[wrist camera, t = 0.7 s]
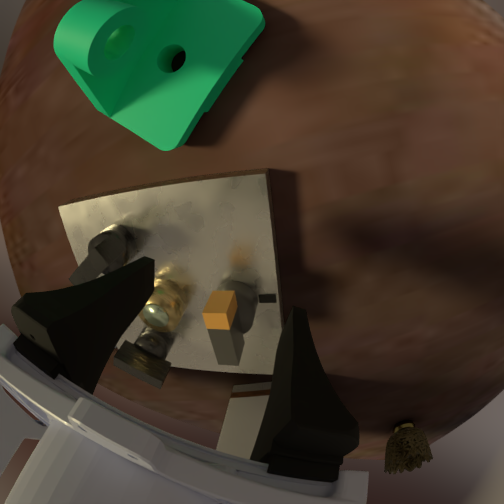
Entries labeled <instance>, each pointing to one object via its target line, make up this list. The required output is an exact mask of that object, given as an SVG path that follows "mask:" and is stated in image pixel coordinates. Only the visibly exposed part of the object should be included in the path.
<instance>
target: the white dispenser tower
mask: <svg viewBox="0 0 504 504" xmlns="http://www.w3.org/2000/svg"><path fill="white" fill-rule="evenodd" d="M271 383H272V382H263V383H254V384H243V385H234V386H233V390H232V394H231V398H230V401H229V405H228V409H227V412H226V416H225V420H224V423H223V427H222V430H221V434H220V438H219V441H218V445H217V448H216V450H217V451H220V452H224V453H227V454H230V455H234V456H237V457H241V458H245V459H250V456H251V453H252V451H253V448H254V445H255V442H256V439H257V436H258V432H259V429H260V426H261V423H262V419H263V416H264V413H265V409H266V406H267V402H268V398H269V394H270V389H271Z"/></svg>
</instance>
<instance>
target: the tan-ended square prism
mask: <svg viewBox="0 0 504 504" xmlns="http://www.w3.org/2000/svg"><path fill="white" fill-rule="evenodd" d="M257 305H258V298H257V295H256V293H255V292H254V290H253V289H252V288H251V287H249V286H248V285H246V284H244V283H242V282H238V281H229V282H225V283H223V284H221V285H220V286H219V287H218V288H217V290H216V291H212V293H211V295H210V297H209V299H208V301H207V303H206V305H205V307H204V310H203V312H202V315H203V318H204V322H205V325H206V328H207V330H208V333H209V337H210V340H211V343H212V346H213V350H214V353H215V356H216V359H217V362H218V365H231V366H239V363H240V359H241V355H242V352H243V348H244V344H245V342H244V337H243V334H245V333H247V332H248V331H249V330H250V329H251V327H252V325H253V321H254V317H255V313H256V309H257Z"/></svg>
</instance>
